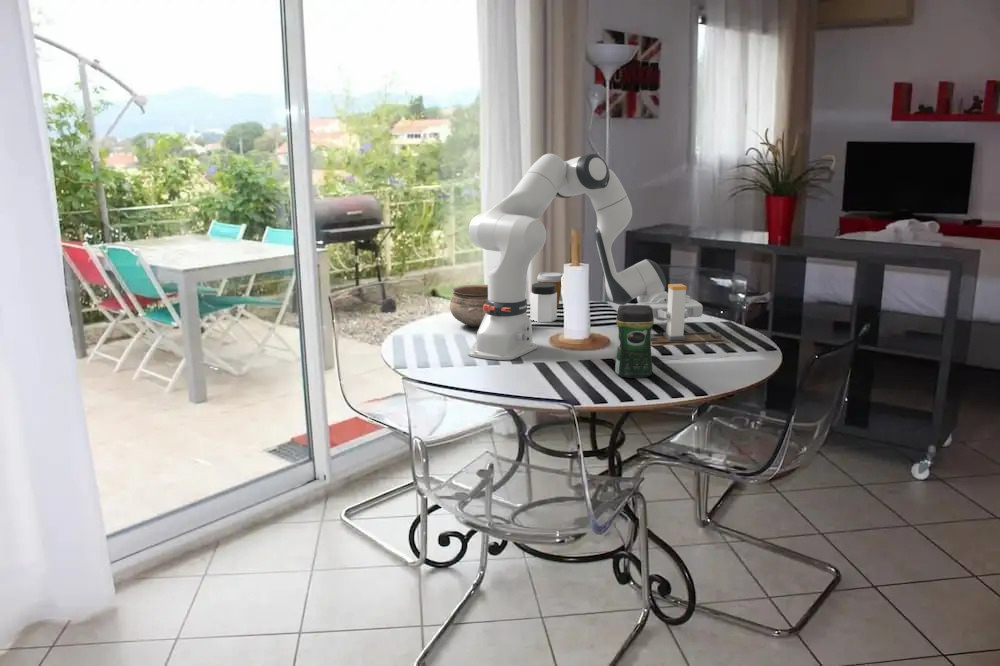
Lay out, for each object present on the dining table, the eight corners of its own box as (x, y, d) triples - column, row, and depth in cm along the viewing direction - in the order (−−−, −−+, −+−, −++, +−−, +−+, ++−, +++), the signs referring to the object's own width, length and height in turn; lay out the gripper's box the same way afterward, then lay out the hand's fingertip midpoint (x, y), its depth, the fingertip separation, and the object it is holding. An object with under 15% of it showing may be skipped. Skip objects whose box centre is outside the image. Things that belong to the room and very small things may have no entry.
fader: (669, 340, 239) (672, 287, 235) (663, 335, 245) (665, 283, 241) (686, 339, 239) (689, 287, 235) (679, 334, 245) (682, 283, 241)
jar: (537, 315, 278) (538, 281, 275) (559, 318, 274) (560, 283, 271) (526, 321, 270) (526, 286, 267) (548, 323, 266) (549, 288, 263)
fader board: (645, 349, 235) (646, 342, 234) (633, 338, 247) (633, 331, 247) (730, 346, 238) (731, 339, 237) (714, 335, 250) (714, 328, 250)
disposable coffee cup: (550, 303, 298) (550, 271, 295) (568, 307, 291) (569, 274, 288) (531, 306, 292) (531, 273, 289) (549, 310, 285) (549, 277, 282)
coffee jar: (649, 370, 215) (652, 302, 211) (653, 379, 208) (657, 308, 203) (613, 369, 216) (615, 302, 211) (616, 378, 208) (618, 308, 203)
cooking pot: (505, 336, 250) (505, 297, 247) (445, 335, 252) (444, 297, 249) (509, 317, 275) (509, 282, 272) (454, 317, 276) (454, 282, 273)
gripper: (630, 296, 251) (643, 306, 237) (693, 295, 253) (709, 304, 240) (629, 316, 252) (642, 327, 239) (692, 314, 255) (708, 325, 241)
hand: (676, 315), depth 239 cm, fingers closed on fader, 4 cm apart
